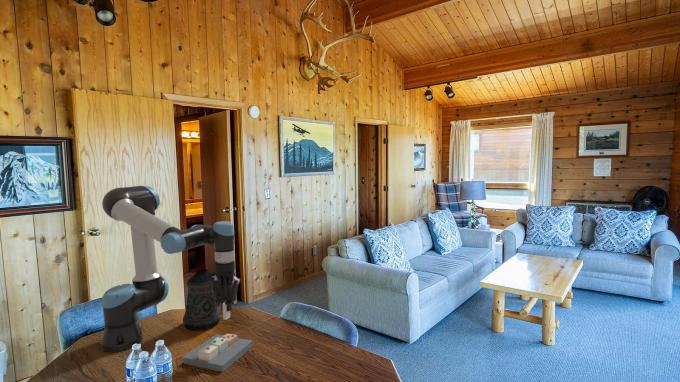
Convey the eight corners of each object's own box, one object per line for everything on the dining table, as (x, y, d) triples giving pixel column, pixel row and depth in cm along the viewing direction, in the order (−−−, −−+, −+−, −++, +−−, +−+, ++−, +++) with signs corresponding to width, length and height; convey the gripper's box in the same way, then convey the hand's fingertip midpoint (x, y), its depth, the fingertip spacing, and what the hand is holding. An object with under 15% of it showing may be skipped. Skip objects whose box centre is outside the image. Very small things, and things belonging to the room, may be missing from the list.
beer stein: (177, 323, 171) (174, 271, 169) (217, 311, 184) (215, 262, 182) (191, 335, 159) (188, 279, 157) (233, 321, 172) (230, 269, 170)
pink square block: (219, 347, 147) (219, 338, 147) (227, 341, 152) (227, 332, 151) (230, 349, 145) (229, 340, 145) (237, 343, 150) (237, 334, 150)
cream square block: (198, 360, 136) (197, 350, 135) (207, 353, 140) (207, 344, 140) (209, 362, 134) (208, 352, 134) (218, 355, 139) (217, 346, 138)
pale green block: (209, 351, 141) (208, 342, 141) (217, 345, 146) (217, 336, 146) (220, 354, 140) (219, 344, 139) (228, 347, 144) (228, 338, 144)
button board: (182, 363, 137) (182, 357, 137) (216, 339, 155) (216, 334, 155) (222, 372, 131) (222, 365, 131) (252, 346, 149) (252, 340, 148)
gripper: (205, 261, 144) (207, 319, 146) (232, 265, 140) (234, 324, 142) (217, 256, 151) (219, 312, 153) (244, 259, 147) (246, 316, 149)
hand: (226, 318), depth 148 cm, fingers closed
